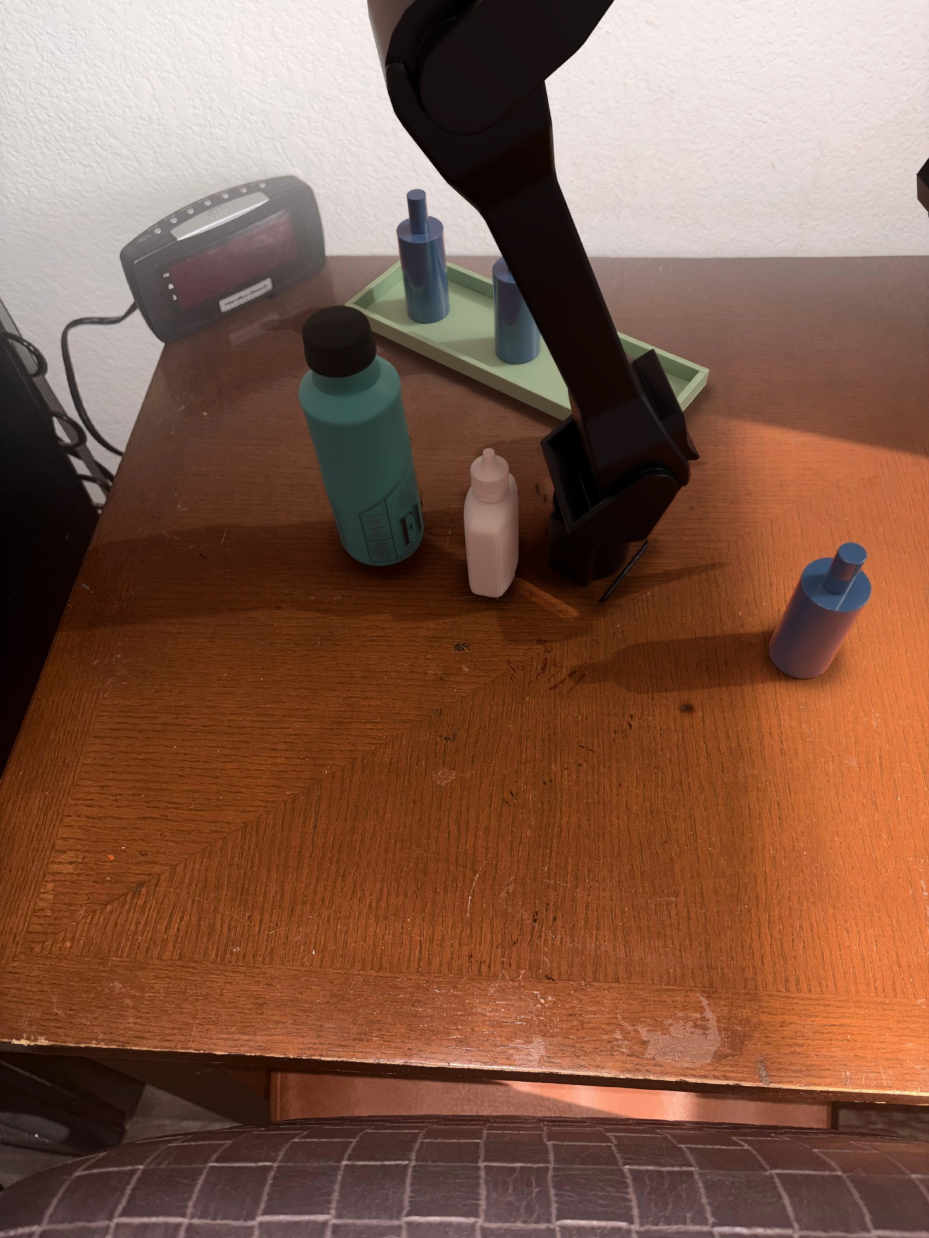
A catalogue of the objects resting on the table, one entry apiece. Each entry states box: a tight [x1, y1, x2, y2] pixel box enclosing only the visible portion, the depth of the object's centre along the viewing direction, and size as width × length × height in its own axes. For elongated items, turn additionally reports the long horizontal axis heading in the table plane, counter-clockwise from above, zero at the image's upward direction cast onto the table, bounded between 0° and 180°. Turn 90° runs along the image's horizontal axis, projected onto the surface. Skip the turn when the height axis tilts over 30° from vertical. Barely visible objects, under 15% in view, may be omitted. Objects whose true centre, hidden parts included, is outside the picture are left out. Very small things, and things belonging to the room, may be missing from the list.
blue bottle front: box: [768, 541, 873, 680], centre depth 52 cm, size 4×4×11 cm
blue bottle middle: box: [491, 256, 541, 364], centre depth 69 cm, size 4×4×11 cm
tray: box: [343, 259, 710, 422], centre depth 74 cm, size 10×31×2 cm, turn 53°
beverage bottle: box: [297, 305, 426, 567], centre depth 55 cm, size 6×7×20 cm
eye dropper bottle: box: [463, 447, 520, 598], centre depth 57 cm, size 4×6×12 cm
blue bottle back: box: [395, 188, 450, 324], centre depth 73 cm, size 4×4×11 cm
